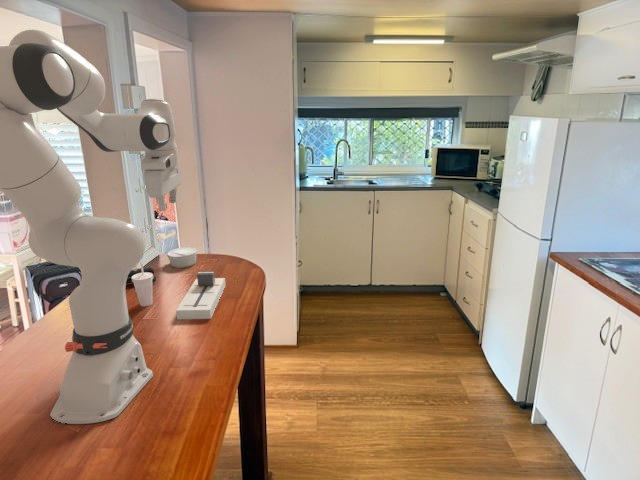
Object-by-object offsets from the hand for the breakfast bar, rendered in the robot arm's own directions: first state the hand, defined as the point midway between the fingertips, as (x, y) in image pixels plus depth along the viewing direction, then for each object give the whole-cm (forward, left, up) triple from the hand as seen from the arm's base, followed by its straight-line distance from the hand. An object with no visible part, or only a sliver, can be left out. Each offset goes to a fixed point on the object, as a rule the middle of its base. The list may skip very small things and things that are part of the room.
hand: (168, 206), depth 127 cm
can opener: (+16, +22, -33) cm, 43 cm away
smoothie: (+1, +11, -32) cm, 34 cm away
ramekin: (+36, +9, -32) cm, 50 cm away
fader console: (+2, -7, -32) cm, 33 cm away
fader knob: (+8, -7, -29) cm, 31 cm away
